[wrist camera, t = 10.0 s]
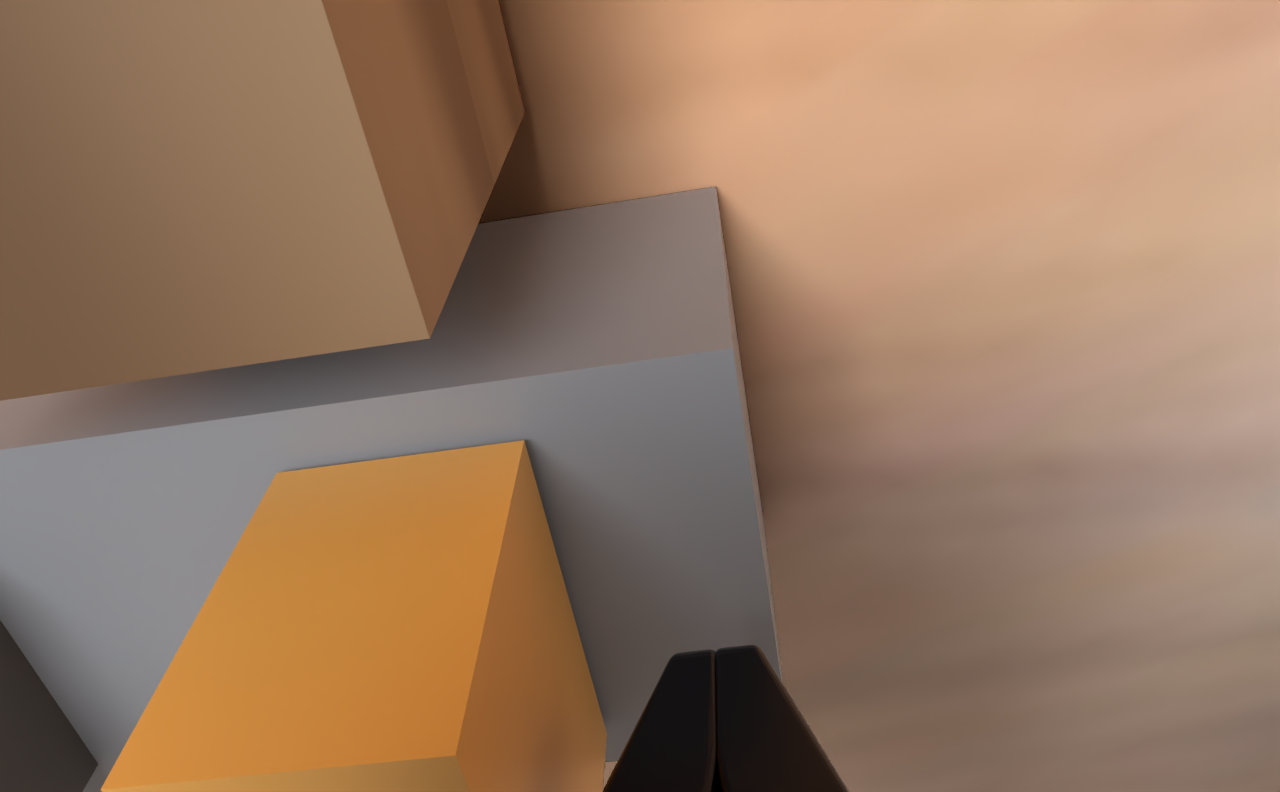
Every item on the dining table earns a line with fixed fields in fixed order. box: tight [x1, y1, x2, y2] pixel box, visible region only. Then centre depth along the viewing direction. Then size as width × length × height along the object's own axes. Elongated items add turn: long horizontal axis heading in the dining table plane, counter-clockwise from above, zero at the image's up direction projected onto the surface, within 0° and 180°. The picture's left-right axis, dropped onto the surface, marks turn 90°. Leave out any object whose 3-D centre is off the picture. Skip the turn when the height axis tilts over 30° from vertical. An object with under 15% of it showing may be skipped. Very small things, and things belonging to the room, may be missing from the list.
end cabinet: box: [0, 187, 783, 792], centre depth 11 cm, size 9×5×6 cm, turn 100°
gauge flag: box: [100, 440, 607, 792], centre depth 9 cm, size 2×4×4 cm, turn 10°
